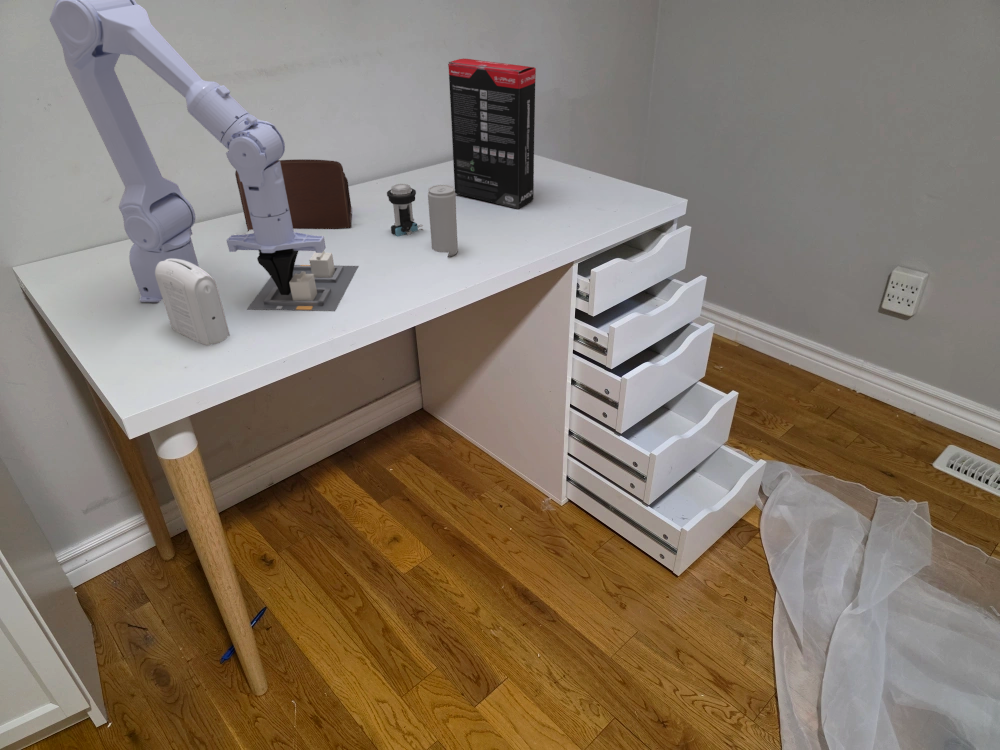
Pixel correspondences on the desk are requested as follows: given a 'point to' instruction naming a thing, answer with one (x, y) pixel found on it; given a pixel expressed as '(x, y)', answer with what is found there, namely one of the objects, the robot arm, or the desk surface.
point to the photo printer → (192, 301)
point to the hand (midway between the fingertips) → (286, 292)
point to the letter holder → (312, 194)
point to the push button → (402, 209)
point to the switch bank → (325, 300)
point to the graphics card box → (493, 130)
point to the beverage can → (443, 219)
